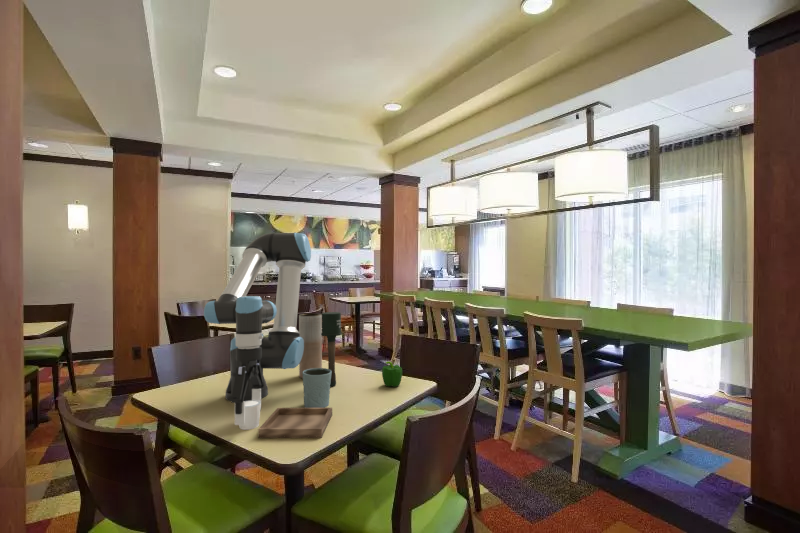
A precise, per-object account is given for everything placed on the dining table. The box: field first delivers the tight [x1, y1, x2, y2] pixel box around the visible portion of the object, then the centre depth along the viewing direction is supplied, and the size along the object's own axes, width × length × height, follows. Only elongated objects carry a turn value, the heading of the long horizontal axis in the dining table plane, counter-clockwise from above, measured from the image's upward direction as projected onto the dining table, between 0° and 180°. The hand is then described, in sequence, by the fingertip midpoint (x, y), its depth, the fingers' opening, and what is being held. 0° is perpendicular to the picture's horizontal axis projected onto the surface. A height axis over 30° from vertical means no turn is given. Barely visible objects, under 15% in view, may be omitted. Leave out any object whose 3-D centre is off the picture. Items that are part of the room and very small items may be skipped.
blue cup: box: [302, 367, 332, 408], centre depth 144 cm, size 10×10×12 cm
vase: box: [298, 312, 323, 379], centre depth 183 cm, size 10×10×28 cm
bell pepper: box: [381, 361, 403, 388], centre depth 168 cm, size 8×8×10 cm
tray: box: [257, 407, 333, 439], centre depth 125 cm, size 18×18×2 cm
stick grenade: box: [321, 311, 343, 388], centre depth 168 cm, size 8×9×30 cm
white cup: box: [238, 400, 262, 431], centre depth 125 cm, size 7×7×7 cm
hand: (248, 416), depth 125 cm, fingers open, 13 cm apart
